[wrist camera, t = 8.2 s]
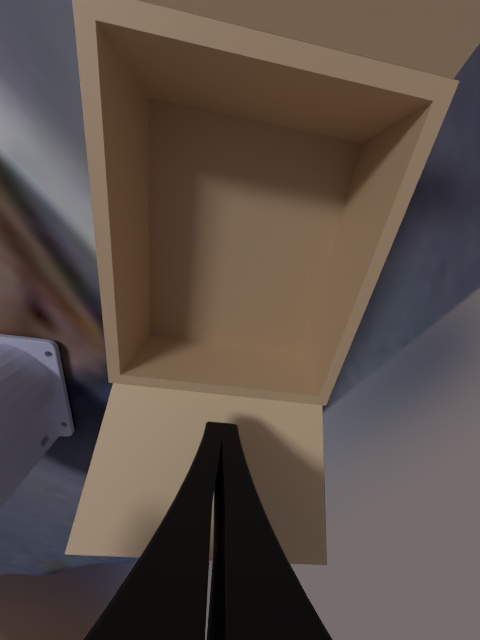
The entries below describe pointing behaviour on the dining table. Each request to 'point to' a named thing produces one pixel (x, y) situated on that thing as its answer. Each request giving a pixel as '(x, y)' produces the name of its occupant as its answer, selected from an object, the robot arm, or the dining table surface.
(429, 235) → the dining table surface
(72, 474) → the dining table surface
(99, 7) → the carton
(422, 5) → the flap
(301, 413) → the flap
